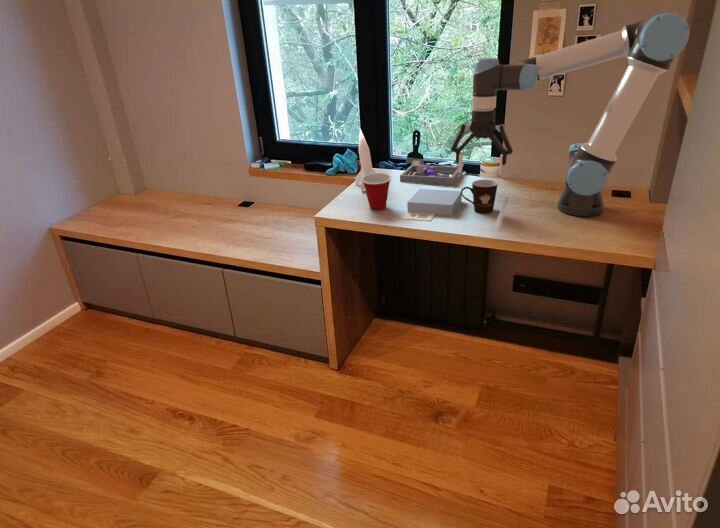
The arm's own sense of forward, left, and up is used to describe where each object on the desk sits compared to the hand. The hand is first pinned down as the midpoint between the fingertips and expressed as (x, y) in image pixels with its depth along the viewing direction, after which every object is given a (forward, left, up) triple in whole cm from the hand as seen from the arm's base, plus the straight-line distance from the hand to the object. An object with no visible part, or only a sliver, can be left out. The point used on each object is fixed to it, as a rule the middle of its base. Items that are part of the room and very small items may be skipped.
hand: (480, 173), depth 179 cm
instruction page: (+19, +11, -13) cm, 25 cm away
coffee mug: (0, 0, -14) cm, 14 cm away
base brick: (+16, 0, -13) cm, 21 cm away
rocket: (+44, -15, -14) cm, 48 cm away
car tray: (+26, -33, -13) cm, 44 cm away
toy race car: (+24, -33, -14) cm, 43 cm away
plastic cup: (+36, +6, -14) cm, 39 cm away
